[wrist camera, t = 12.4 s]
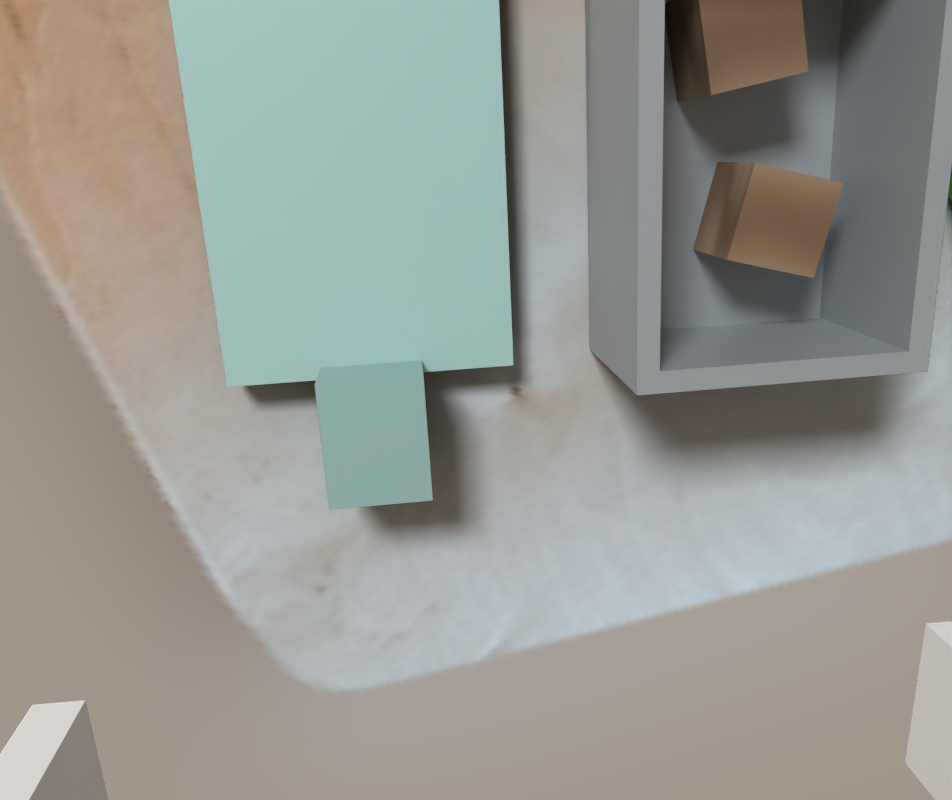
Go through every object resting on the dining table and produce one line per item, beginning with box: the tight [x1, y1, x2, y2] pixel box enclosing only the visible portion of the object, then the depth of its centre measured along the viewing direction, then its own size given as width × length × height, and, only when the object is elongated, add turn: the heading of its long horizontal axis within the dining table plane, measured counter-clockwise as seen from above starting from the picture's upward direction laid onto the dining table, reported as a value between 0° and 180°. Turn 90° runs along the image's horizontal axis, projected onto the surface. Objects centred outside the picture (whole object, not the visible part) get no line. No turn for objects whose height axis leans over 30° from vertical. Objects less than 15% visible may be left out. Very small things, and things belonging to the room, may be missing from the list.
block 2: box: [693, 162, 844, 278], centre depth 31 cm, size 4×4×4 cm
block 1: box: [665, 0, 808, 102], centre depth 29 cm, size 4×4×4 cm
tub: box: [585, 0, 952, 395], centre depth 29 cm, size 16×11×7 cm
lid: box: [169, 0, 513, 510], centre depth 30 cm, size 21×11×4 cm, turn 3°
